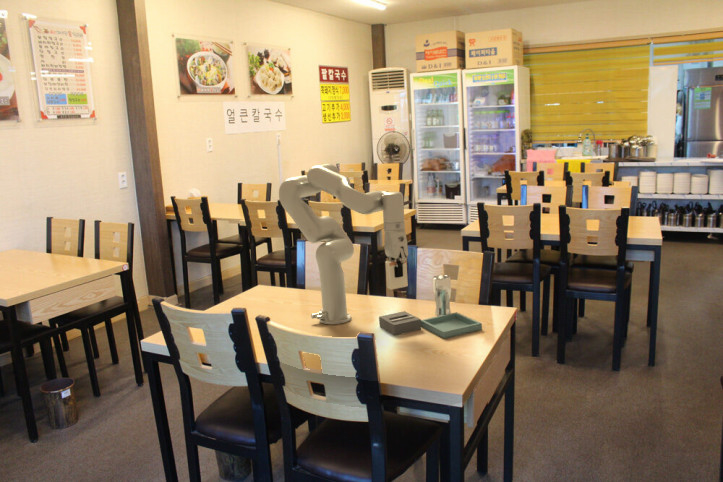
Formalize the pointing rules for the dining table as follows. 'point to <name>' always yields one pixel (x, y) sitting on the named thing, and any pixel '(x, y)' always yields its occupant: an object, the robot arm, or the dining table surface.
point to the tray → (451, 325)
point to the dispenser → (400, 323)
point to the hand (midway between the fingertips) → (396, 275)
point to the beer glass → (442, 294)
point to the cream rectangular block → (390, 275)
